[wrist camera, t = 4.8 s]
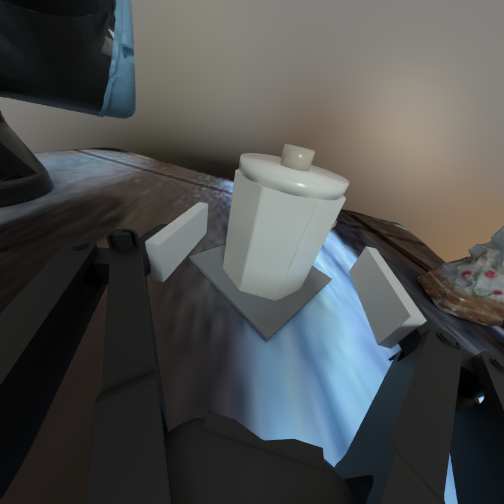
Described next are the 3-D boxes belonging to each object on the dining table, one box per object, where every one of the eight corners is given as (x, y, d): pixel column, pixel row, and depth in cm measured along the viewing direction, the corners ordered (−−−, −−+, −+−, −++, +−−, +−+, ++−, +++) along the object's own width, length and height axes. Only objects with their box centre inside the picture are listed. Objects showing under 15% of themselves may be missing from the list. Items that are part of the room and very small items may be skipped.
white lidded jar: (213, 283, 18) (228, 134, 11) (236, 239, 25) (254, 133, 18) (302, 308, 17) (379, 171, 10) (299, 256, 24) (343, 155, 17)
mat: (189, 259, 20) (189, 256, 20) (260, 234, 28) (261, 232, 28) (266, 341, 14) (267, 338, 14) (330, 281, 22) (331, 278, 22)
